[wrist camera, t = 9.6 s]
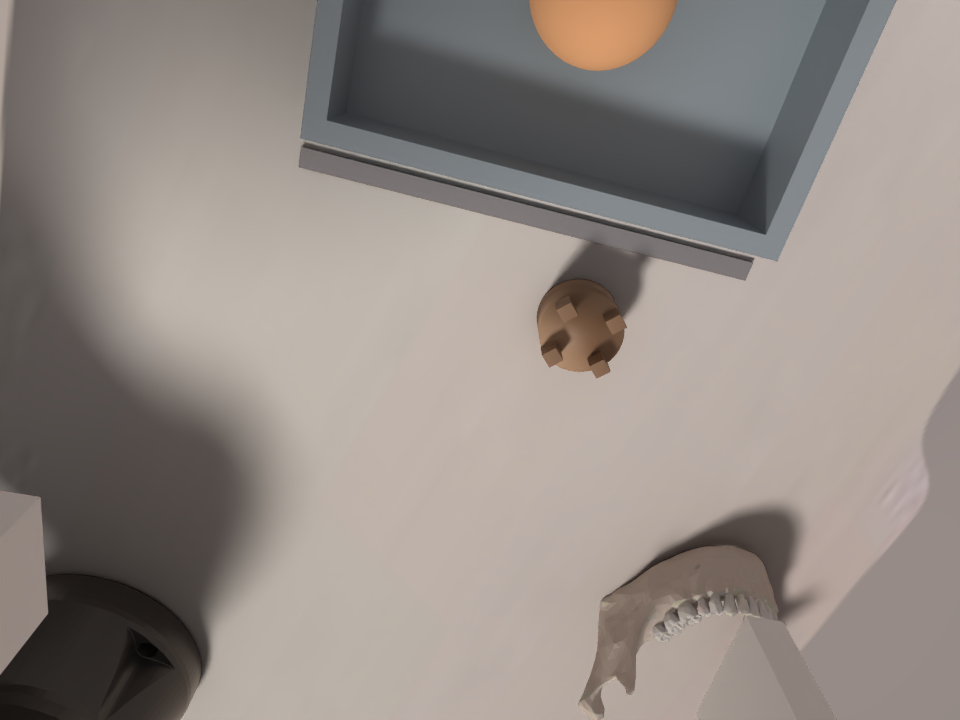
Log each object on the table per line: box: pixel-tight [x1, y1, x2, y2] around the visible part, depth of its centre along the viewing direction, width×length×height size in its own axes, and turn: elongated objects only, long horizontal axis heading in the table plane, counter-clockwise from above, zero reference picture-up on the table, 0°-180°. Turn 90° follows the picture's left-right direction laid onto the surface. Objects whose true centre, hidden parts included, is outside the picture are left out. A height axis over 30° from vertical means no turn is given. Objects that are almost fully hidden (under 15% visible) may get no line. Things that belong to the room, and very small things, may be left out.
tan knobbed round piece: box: [537, 279, 627, 378], centre depth 35 cm, size 4×4×3 cm
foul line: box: [299, 147, 753, 280], centre depth 34 cm, size 24×1×1 cm, turn 76°
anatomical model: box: [578, 546, 779, 720], centre depth 42 cm, size 13×11×10 cm
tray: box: [300, 0, 897, 261], centre depth 28 cm, size 22×15×5 cm
